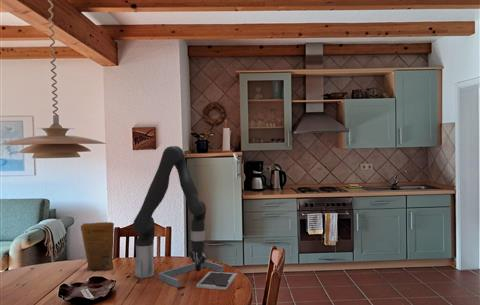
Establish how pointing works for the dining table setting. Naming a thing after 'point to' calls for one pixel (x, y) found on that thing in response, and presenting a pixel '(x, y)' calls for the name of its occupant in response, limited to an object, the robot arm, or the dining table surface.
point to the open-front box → (168, 278)
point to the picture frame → (216, 280)
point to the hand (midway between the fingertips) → (198, 270)
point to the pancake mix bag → (98, 245)
